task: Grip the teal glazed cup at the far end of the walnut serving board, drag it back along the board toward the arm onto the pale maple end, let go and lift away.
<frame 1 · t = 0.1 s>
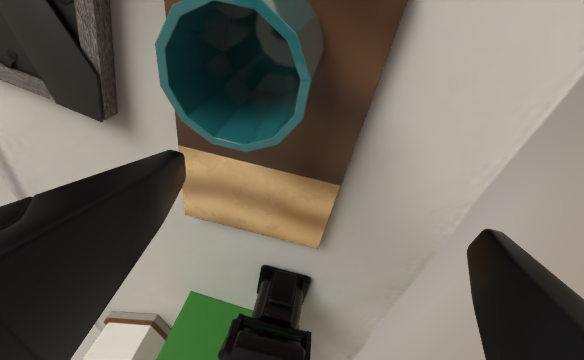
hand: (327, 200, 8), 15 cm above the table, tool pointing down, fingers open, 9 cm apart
serving board: (265, 129, 24), on the table
teal cup: (272, 45, 19), point 1 cm above the table, touching serving board
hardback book: (242, 317, 46), on the table
tall white box: (149, 327, 55), on the table
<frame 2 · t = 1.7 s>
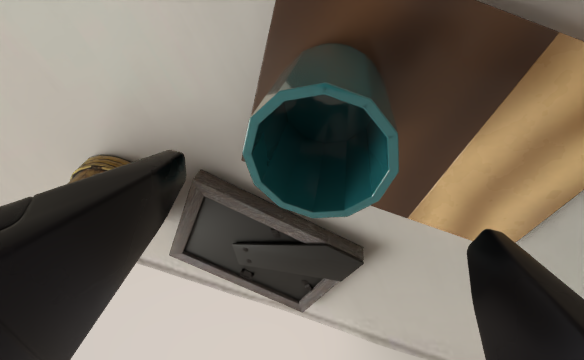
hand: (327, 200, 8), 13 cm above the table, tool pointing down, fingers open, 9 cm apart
serving board: (421, 125, 20), on the table
teal cup: (329, 98, 19), point 1 cm above the table, touching serving board
picture frame: (261, 244, 32), on the table
wooden mug: (105, 179, 30), on the table
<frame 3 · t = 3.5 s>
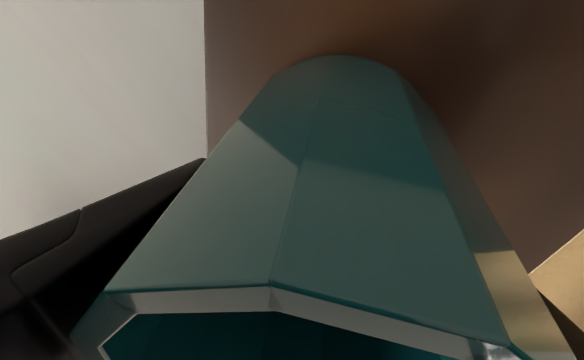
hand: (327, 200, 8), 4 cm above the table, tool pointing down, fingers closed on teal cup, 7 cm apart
serving board: (503, 178, 11), on the table
teal cup: (332, 152, 11), point 1 cm above the table, touching gripper, serving board
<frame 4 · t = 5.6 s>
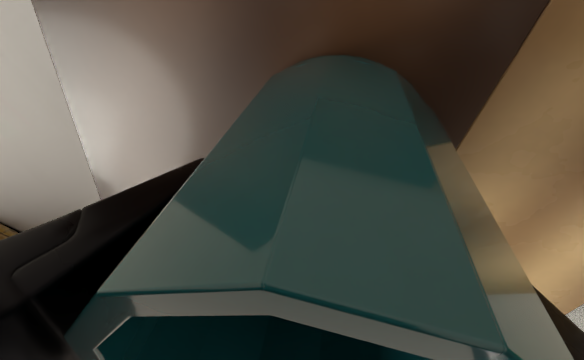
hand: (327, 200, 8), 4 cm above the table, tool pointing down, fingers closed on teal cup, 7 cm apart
serving board: (358, 143, 11), on the table
teal cup: (332, 152, 10), point 1 cm above the table, touching gripper
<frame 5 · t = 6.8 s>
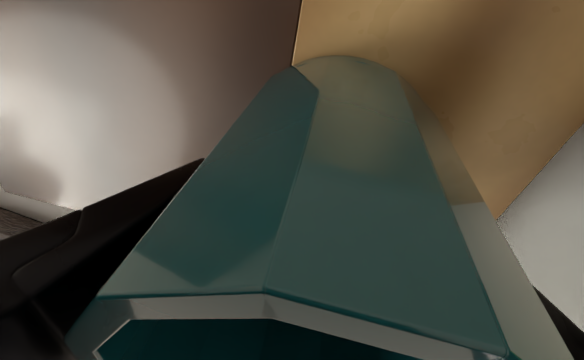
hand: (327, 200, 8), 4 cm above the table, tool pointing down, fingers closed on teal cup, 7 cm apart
serving board: (215, 109, 12), on the table
teal cup: (332, 153, 10), point 1 cm above the table, touching gripper
picture frame: (127, 293, 24), on the table
when the fingers open (4 cm above the table, at t = 7.6 s): teal cup stays where it is, resting on serving board.
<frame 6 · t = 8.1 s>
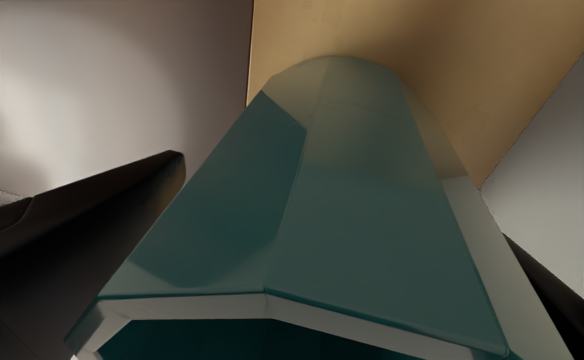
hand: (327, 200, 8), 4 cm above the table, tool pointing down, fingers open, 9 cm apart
serving board: (183, 101, 12), on the table
teal cup: (332, 153, 10), point 1 cm above the table, touching serving board
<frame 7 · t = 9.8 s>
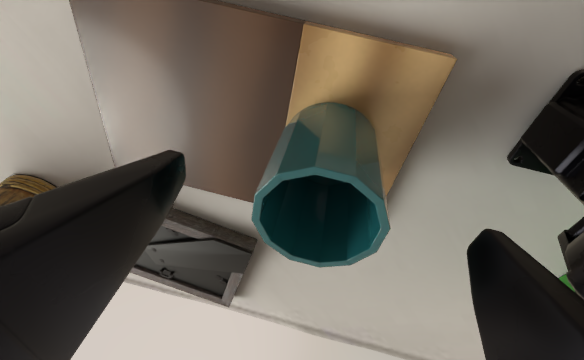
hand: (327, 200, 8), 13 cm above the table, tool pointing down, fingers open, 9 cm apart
serving board: (249, 119, 22), on the table
teal cup: (328, 147, 21), point 1 cm above the table, touching serving board
picture frame: (174, 244, 34), on the table
wooden mug: (29, 196, 33), on the table
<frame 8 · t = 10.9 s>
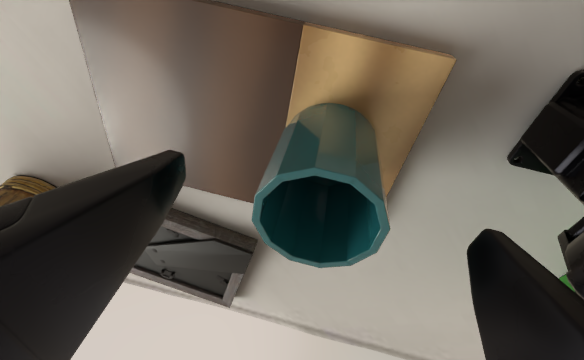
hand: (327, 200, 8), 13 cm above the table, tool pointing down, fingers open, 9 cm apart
serving board: (249, 120, 22), on the table
teal cup: (328, 147, 21), point 1 cm above the table, touching serving board
picture frame: (175, 245, 34), on the table
wooden mug: (30, 197, 33), on the table
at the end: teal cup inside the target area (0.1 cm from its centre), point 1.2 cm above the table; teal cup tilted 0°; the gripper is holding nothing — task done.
